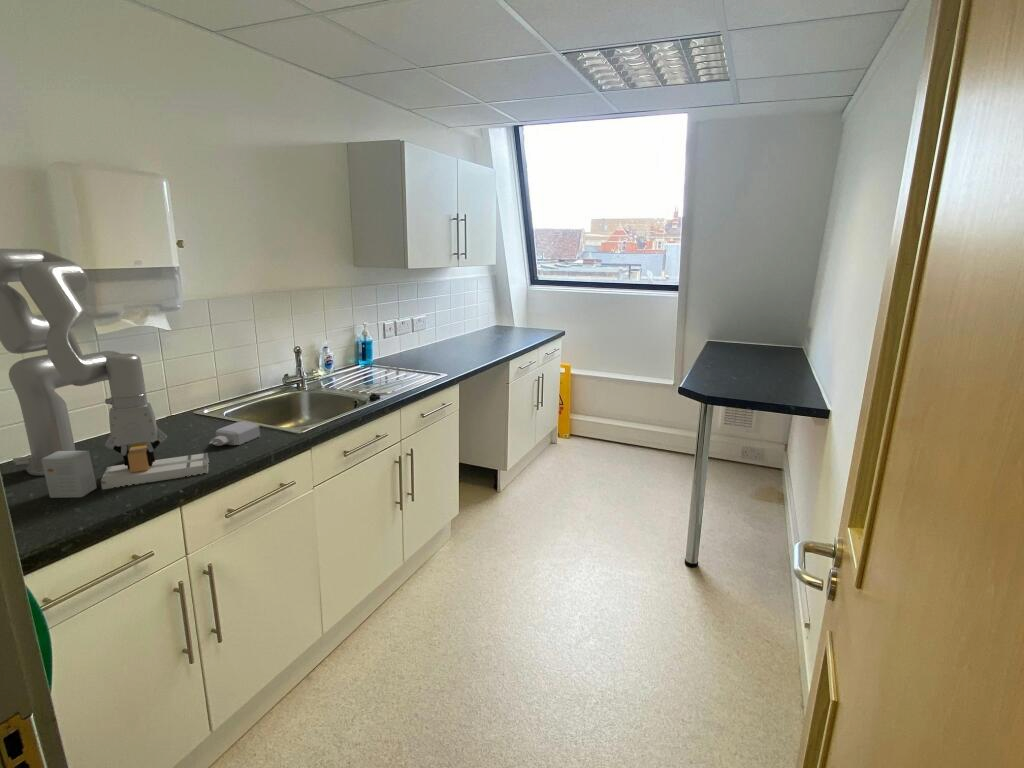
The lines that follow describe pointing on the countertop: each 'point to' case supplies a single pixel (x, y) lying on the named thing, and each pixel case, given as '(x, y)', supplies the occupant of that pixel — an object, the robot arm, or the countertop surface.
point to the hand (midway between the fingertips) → (140, 465)
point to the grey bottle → (236, 434)
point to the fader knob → (138, 458)
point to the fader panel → (156, 471)
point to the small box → (69, 474)
